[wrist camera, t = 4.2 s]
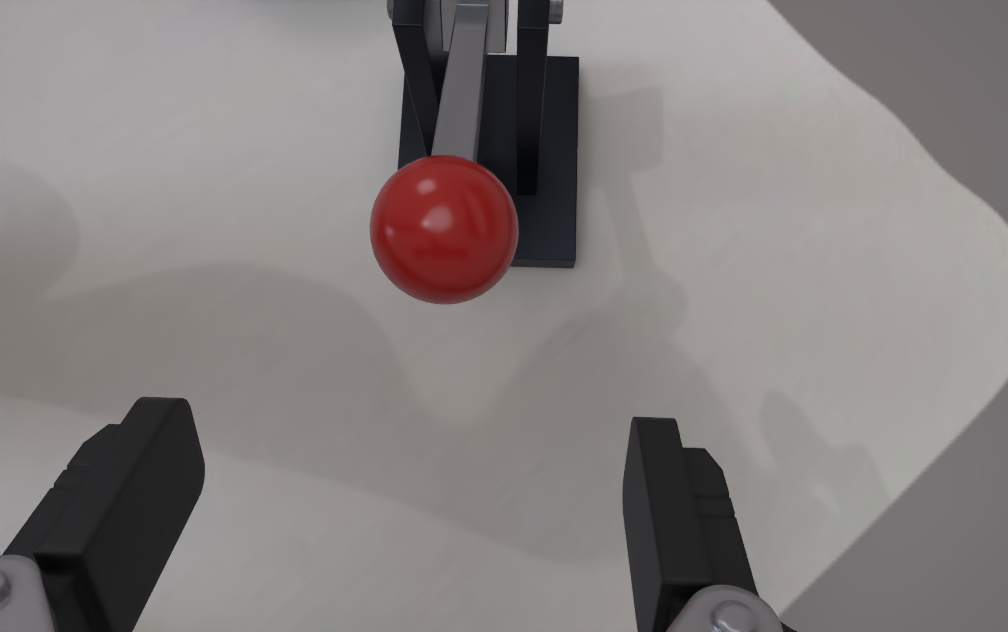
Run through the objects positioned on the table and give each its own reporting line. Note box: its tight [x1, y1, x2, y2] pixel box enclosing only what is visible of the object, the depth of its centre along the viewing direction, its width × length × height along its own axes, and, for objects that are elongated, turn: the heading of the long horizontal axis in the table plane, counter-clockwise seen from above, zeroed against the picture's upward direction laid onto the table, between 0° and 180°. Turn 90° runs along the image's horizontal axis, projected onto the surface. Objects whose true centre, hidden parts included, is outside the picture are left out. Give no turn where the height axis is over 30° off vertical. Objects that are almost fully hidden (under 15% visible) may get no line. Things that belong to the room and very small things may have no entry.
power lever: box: [370, 0, 519, 304], centre depth 23 cm, size 15×4×4 cm, turn 177°
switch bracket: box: [386, 0, 579, 268], centre depth 33 cm, size 11×9×16 cm
